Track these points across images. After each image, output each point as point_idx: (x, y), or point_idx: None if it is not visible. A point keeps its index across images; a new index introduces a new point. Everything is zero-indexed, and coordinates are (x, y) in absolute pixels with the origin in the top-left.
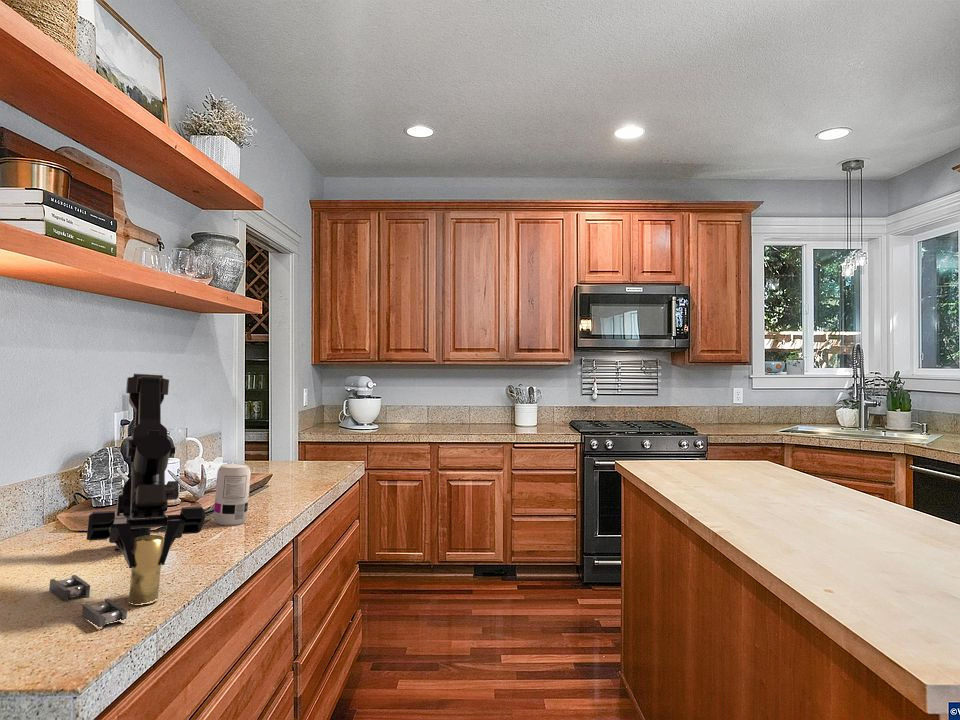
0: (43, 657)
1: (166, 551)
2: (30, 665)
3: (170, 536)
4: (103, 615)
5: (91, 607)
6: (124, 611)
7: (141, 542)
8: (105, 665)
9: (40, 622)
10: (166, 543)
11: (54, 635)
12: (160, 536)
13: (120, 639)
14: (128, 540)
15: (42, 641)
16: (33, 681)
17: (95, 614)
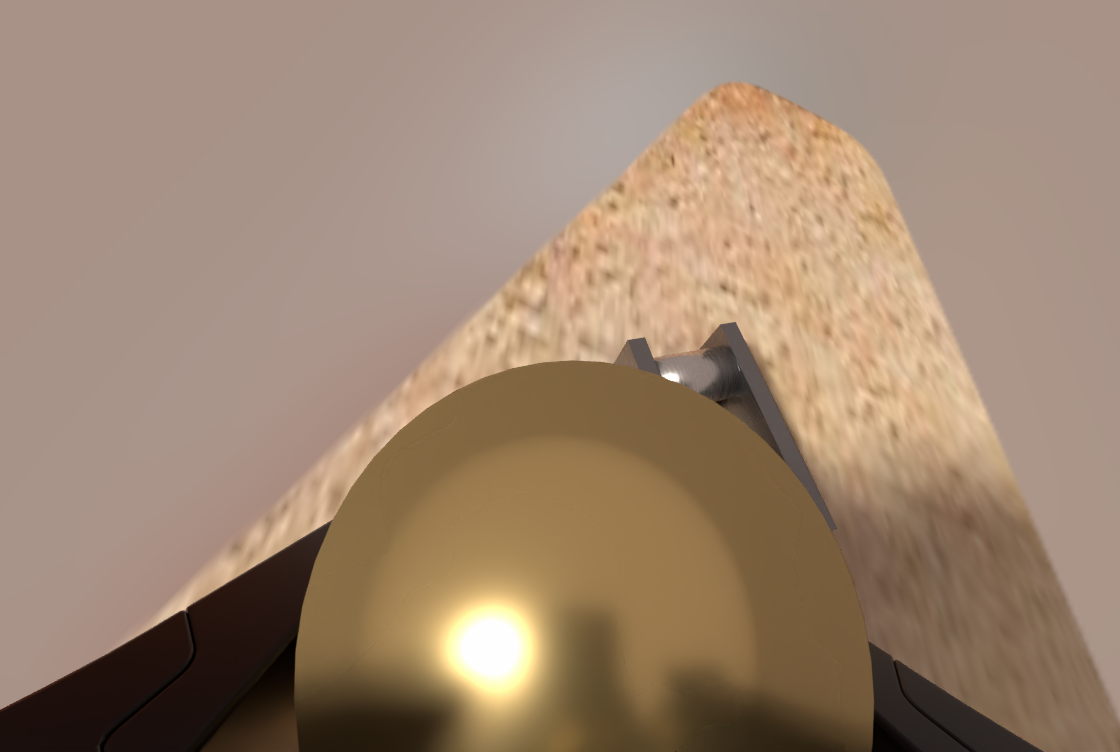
0: (841, 245)
1: (309, 552)
2: (860, 218)
3: (73, 723)
4: (722, 353)
5: (787, 461)
6: (637, 342)
7: (731, 421)
8: (674, 126)
9: (946, 552)
10: (257, 626)
11: (854, 387)
12: (332, 731)
13: (634, 247)
14: (948, 735)
15: (878, 355)
16: (827, 143)
17: (757, 368)
